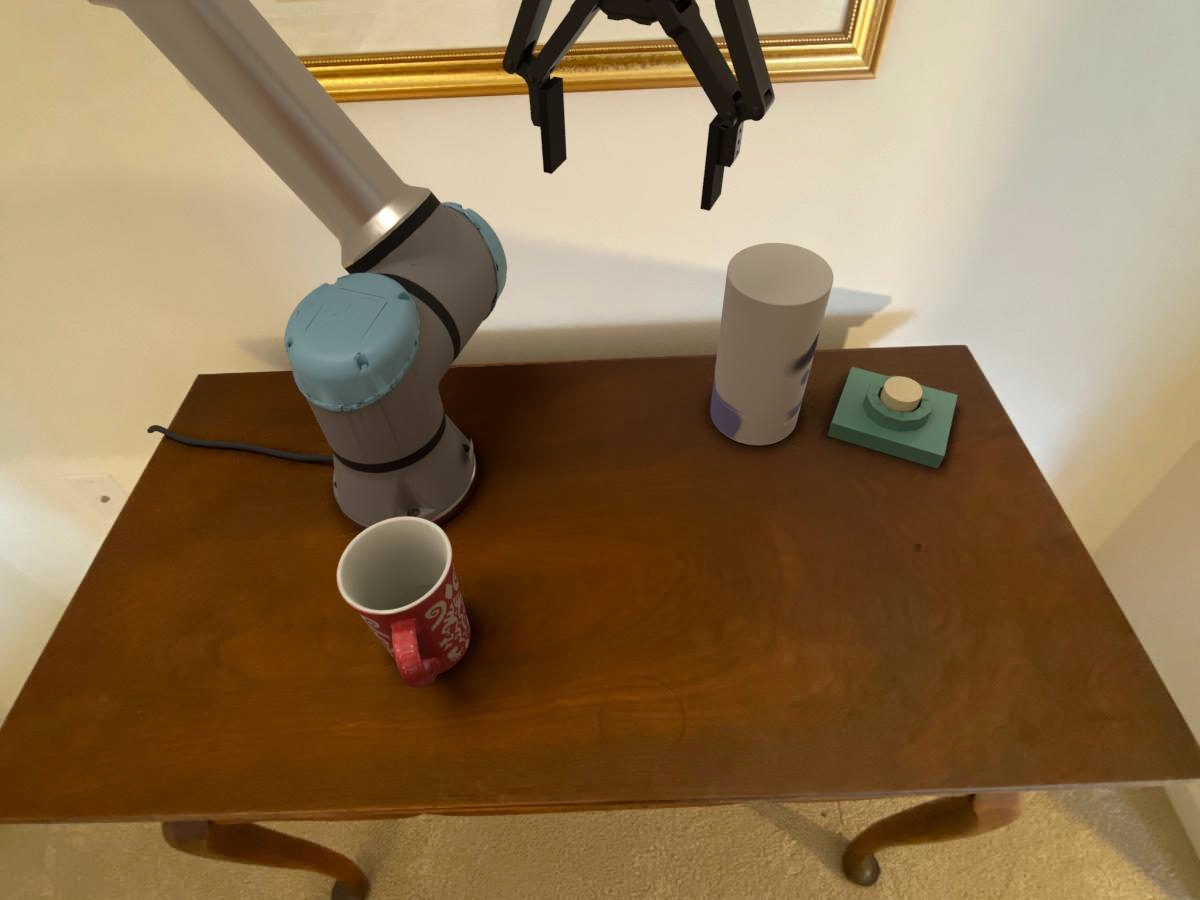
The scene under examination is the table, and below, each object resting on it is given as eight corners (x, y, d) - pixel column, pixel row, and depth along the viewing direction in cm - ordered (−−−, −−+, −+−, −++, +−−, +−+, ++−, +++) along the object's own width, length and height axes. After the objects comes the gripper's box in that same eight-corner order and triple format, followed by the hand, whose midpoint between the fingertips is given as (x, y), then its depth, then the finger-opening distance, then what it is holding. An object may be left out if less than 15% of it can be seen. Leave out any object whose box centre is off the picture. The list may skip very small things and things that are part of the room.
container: (801, 447, 80) (842, 303, 64) (712, 445, 80) (730, 303, 65) (791, 385, 86) (825, 240, 71) (708, 383, 87) (724, 240, 71)
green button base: (827, 435, 81) (834, 411, 78) (847, 379, 86) (855, 354, 83) (937, 469, 77) (950, 445, 74) (951, 408, 83) (963, 383, 80)
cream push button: (876, 406, 78) (880, 395, 77) (884, 383, 81) (888, 372, 79) (914, 417, 77) (919, 406, 76) (920, 393, 80) (925, 382, 78)
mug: (381, 605, 68) (337, 526, 58) (475, 587, 69) (448, 506, 59) (382, 736, 60) (331, 671, 50) (488, 713, 61) (459, 645, 51)
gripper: (871, -159, 40) (795, 193, 56) (486, -187, 47) (517, 133, 63) (840, -130, 35) (767, 243, 51) (420, -166, 42) (473, 172, 58)
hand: (630, 183), depth 57 cm, fingers open, 13 cm apart
